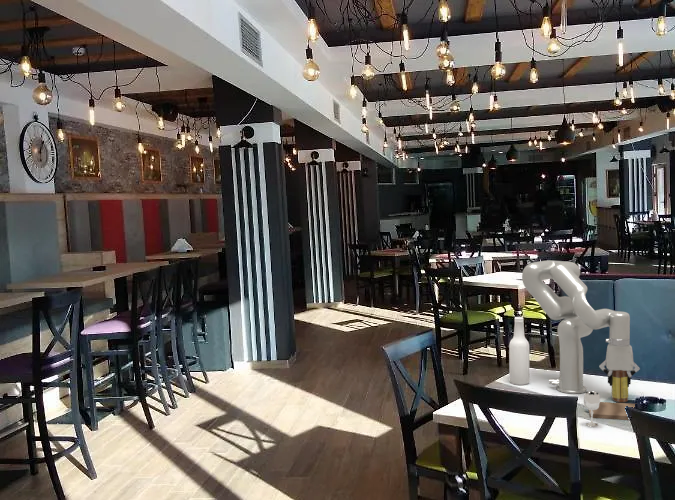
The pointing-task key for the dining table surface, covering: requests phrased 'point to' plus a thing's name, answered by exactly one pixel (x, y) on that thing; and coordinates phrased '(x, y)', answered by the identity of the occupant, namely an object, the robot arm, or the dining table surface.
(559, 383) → the robot arm
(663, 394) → the dining table surface
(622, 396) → the sauce bottle
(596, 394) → the wineglass
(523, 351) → the alcohol
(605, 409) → the walnut board
